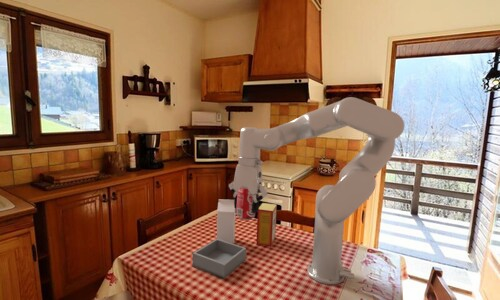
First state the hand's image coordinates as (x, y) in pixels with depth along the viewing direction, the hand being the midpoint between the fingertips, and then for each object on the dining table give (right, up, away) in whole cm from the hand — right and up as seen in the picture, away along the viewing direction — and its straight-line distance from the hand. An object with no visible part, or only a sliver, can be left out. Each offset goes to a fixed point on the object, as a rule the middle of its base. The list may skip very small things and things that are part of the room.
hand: (245, 209), depth 96 cm
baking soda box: (+9, -19, +20) cm, 29 cm away
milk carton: (-9, -18, +18) cm, 27 cm away
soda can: (0, -3, 0) cm, 3 cm away
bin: (-10, -20, +1) cm, 22 cm away
